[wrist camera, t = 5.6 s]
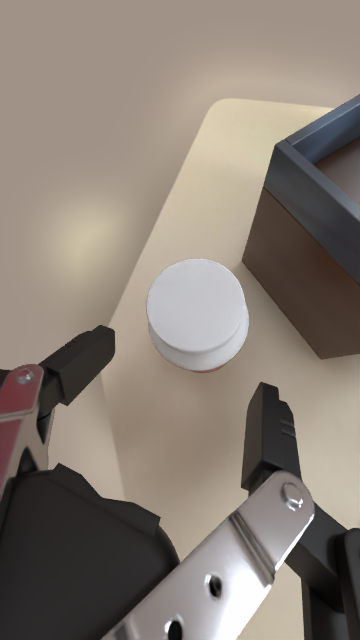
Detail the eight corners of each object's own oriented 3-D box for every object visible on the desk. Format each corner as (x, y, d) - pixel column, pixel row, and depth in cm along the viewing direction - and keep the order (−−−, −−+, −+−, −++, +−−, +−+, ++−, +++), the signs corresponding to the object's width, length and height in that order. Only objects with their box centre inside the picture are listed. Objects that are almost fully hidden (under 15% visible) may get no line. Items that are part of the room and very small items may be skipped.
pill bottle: (246, 329, 20) (289, 278, 9) (213, 386, 19) (220, 399, 9) (191, 299, 22) (175, 225, 11) (158, 350, 21) (105, 323, 10)
